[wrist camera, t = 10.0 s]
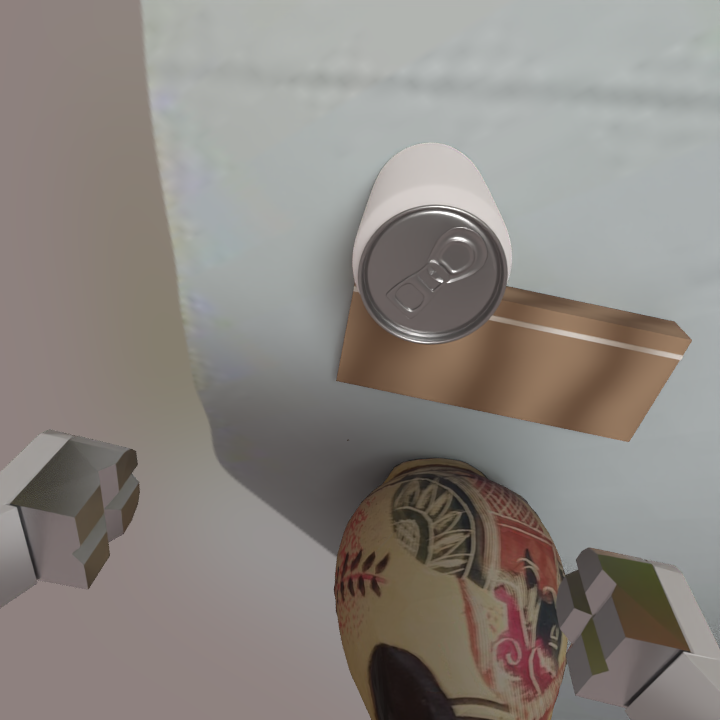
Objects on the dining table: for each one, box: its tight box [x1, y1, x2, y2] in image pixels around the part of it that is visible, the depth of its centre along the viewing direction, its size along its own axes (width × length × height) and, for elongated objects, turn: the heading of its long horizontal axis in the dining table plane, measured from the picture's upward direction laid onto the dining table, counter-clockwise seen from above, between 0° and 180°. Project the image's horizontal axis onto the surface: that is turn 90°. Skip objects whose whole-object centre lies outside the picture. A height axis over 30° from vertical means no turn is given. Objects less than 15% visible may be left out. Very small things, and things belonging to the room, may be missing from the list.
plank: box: [336, 283, 692, 442], centre depth 32 cm, size 20×8×2 cm, turn 80°
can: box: [352, 143, 512, 345], centre depth 24 cm, size 6×6×12 cm
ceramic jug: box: [334, 439, 568, 720], centre depth 28 cm, size 17×15×30 cm
